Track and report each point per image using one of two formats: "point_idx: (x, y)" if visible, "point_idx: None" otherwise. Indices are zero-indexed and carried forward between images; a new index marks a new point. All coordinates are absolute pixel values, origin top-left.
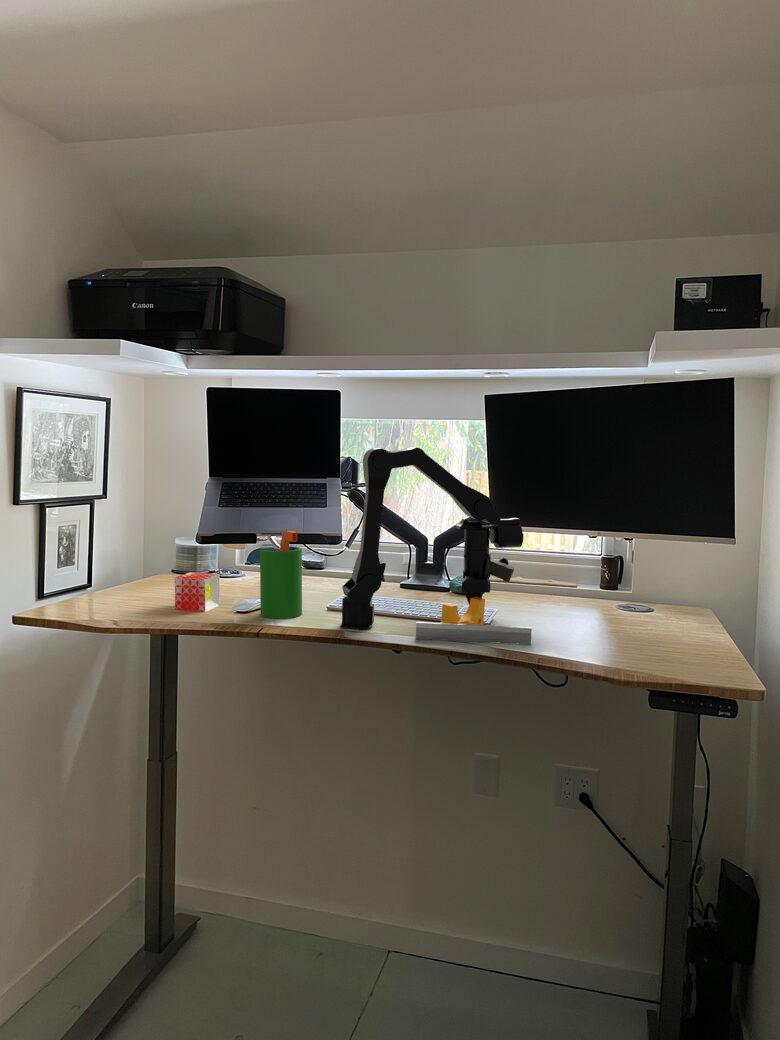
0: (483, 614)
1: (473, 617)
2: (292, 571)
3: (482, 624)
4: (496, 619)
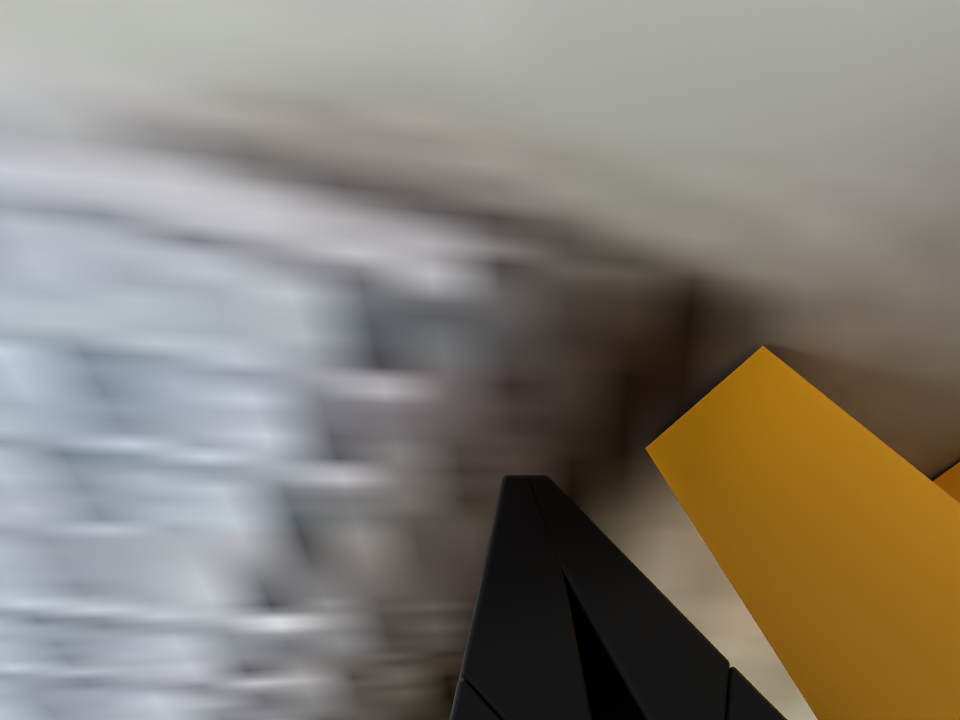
0: (904, 463)
1: None
2: None
3: (796, 374)
4: (139, 60)
